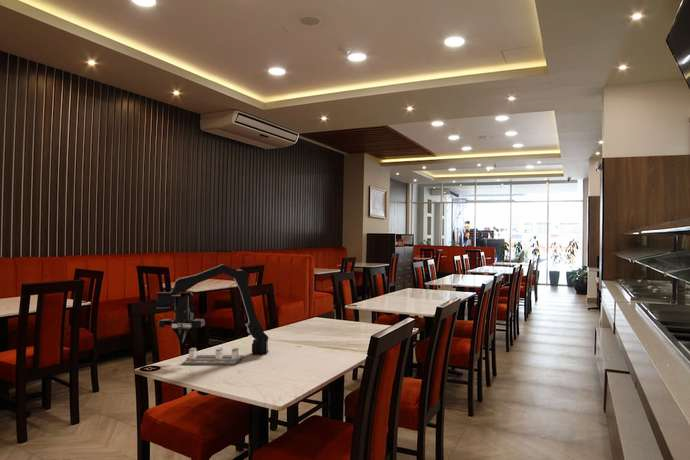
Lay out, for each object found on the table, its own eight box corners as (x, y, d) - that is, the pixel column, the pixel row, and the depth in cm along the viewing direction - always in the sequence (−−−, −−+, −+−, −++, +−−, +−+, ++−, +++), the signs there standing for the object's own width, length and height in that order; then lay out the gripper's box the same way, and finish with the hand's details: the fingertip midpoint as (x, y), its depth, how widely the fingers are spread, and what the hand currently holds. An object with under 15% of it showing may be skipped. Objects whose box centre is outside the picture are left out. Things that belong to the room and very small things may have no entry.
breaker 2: (222, 357, 200) (222, 348, 200) (220, 359, 196) (220, 350, 196) (217, 357, 200) (217, 348, 200) (215, 359, 196) (215, 350, 197)
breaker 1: (196, 357, 200) (196, 347, 200) (193, 359, 197) (193, 349, 197) (191, 357, 200) (191, 347, 200) (189, 359, 197) (189, 349, 197)
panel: (243, 357, 204) (243, 353, 204) (235, 365, 191) (235, 361, 191) (193, 356, 205) (193, 352, 205) (182, 364, 192) (182, 360, 192)
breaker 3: (238, 357, 199) (238, 348, 199) (236, 359, 196) (236, 350, 196) (233, 357, 199) (233, 348, 199) (231, 359, 196) (231, 350, 196)
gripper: (209, 304, 207) (209, 338, 206) (168, 304, 207) (168, 338, 207) (200, 308, 196) (200, 344, 195) (157, 308, 196) (157, 344, 196)
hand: (181, 343), depth 199 cm, fingers closed
